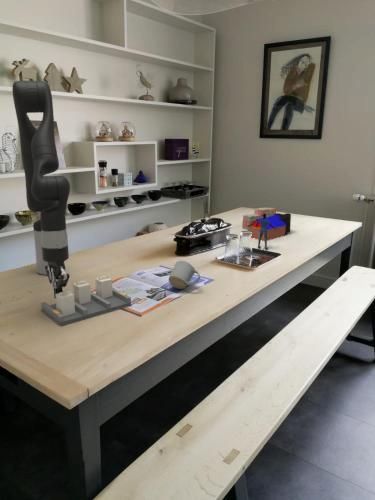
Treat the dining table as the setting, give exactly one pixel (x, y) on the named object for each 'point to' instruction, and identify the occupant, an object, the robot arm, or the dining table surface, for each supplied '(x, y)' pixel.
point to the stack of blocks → (257, 215)
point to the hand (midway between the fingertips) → (58, 298)
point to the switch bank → (88, 308)
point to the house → (268, 228)
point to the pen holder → (285, 220)
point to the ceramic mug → (182, 275)
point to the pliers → (205, 207)
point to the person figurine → (263, 230)
